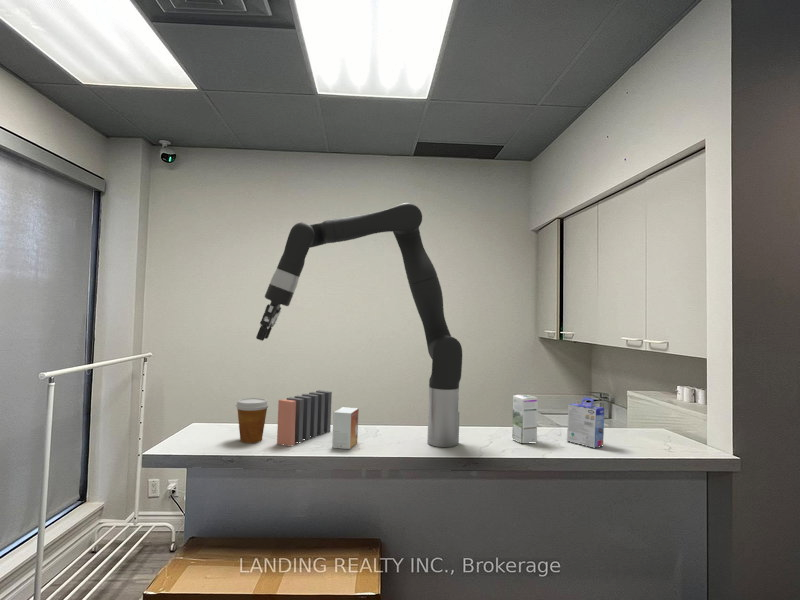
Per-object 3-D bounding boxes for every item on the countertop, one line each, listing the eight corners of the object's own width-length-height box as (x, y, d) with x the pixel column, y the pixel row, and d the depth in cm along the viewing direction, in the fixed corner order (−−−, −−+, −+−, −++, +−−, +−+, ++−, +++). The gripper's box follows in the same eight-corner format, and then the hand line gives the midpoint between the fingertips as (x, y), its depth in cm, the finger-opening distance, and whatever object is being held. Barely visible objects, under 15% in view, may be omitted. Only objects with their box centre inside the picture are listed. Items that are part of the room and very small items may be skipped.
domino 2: (288, 439, 150) (290, 397, 150) (302, 442, 148) (303, 398, 148) (285, 441, 149) (286, 398, 149) (298, 443, 146) (300, 399, 147)
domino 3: (296, 437, 154) (298, 395, 154) (309, 439, 151) (311, 397, 152) (293, 438, 152) (294, 396, 152) (306, 440, 150) (307, 397, 150)
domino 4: (303, 434, 157) (305, 393, 157) (316, 436, 155) (318, 395, 155) (300, 435, 155) (301, 394, 156) (313, 437, 153) (315, 396, 153)
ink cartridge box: (604, 446, 154) (605, 400, 154) (595, 449, 150) (596, 402, 151) (575, 439, 162) (576, 395, 162) (566, 442, 158) (567, 396, 158)
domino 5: (310, 431, 160) (312, 391, 161) (323, 433, 158) (325, 393, 159) (307, 433, 159) (309, 392, 159) (320, 435, 157) (321, 394, 157)
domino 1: (280, 442, 147) (282, 399, 147) (294, 445, 145) (296, 400, 145) (276, 444, 145) (278, 400, 145) (290, 446, 143) (292, 401, 143)
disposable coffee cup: (228, 443, 144) (229, 402, 145) (244, 435, 154) (245, 396, 154) (258, 446, 143) (260, 404, 143) (272, 437, 152) (274, 398, 152)
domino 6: (317, 429, 164) (319, 390, 164) (330, 431, 162) (331, 391, 162) (314, 430, 162) (315, 391, 162) (327, 432, 160) (328, 392, 160)
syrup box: (537, 443, 155) (538, 397, 155) (521, 444, 153) (523, 398, 153) (526, 438, 160) (527, 394, 160) (511, 440, 158) (512, 394, 158)
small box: (350, 449, 142) (351, 413, 142) (331, 448, 143) (332, 411, 143) (358, 442, 150) (359, 407, 150) (340, 441, 151) (341, 406, 151)
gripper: (292, 291, 139) (270, 345, 138) (296, 292, 153) (276, 341, 152) (266, 281, 138) (245, 335, 137) (273, 283, 152) (253, 332, 151)
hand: (261, 338), depth 144 cm, fingers open, 8 cm apart
